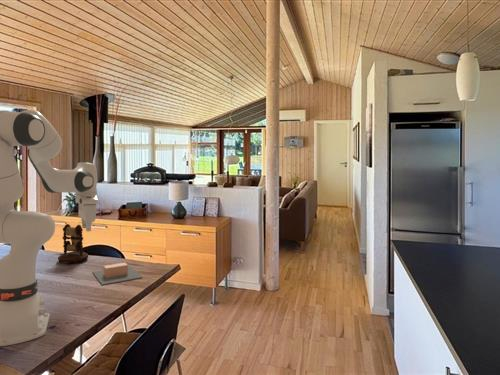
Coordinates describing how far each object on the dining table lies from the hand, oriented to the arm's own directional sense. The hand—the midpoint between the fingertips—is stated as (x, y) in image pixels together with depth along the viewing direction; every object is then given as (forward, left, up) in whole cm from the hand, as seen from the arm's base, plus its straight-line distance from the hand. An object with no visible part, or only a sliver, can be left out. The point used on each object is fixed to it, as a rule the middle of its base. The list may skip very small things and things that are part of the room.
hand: (86, 229), depth 159 cm
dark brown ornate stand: (+39, 0, -25) cm, 47 cm away
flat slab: (+3, -14, -25) cm, 28 cm away
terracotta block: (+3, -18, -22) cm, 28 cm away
